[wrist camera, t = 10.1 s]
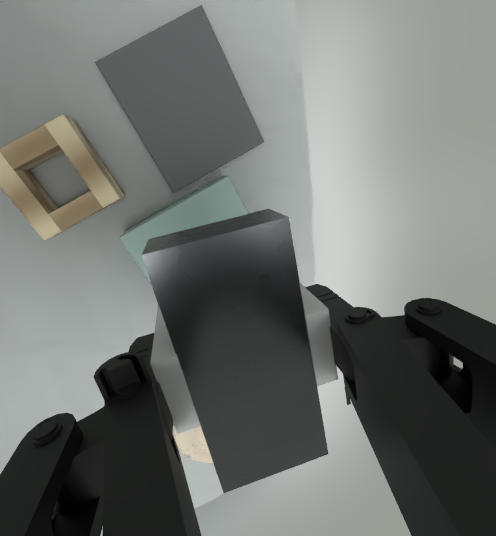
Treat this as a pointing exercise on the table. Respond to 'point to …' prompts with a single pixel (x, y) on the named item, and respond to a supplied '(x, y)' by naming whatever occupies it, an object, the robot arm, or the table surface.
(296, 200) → the table surface
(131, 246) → the block
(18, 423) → the table surface
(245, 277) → the block
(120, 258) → the table surface
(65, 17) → the table surface
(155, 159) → the mat
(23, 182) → the beige square frame
